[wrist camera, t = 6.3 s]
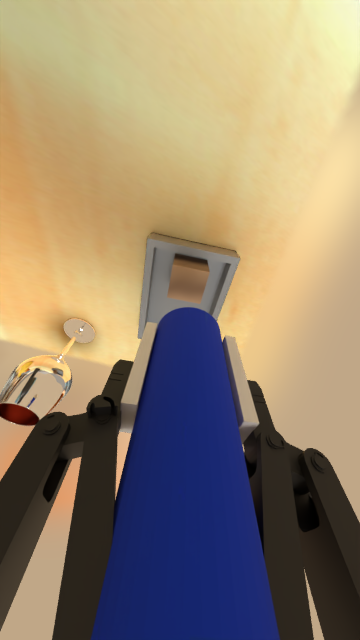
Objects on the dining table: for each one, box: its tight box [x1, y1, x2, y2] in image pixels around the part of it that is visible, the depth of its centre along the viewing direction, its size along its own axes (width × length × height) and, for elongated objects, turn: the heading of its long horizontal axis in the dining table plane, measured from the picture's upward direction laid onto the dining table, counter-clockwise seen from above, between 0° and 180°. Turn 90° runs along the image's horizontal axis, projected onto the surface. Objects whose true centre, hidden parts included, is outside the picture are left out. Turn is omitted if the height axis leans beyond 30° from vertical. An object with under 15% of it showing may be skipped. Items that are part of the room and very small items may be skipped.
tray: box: [138, 233, 240, 339], centre depth 33 cm, size 18×13×4 cm
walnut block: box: [167, 253, 210, 304], centre depth 30 cm, size 5×5×5 cm
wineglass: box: [0, 318, 95, 426], centre depth 34 cm, size 8×8×18 cm
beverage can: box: [91, 307, 280, 640], centre depth 11 cm, size 5×5×15 cm
